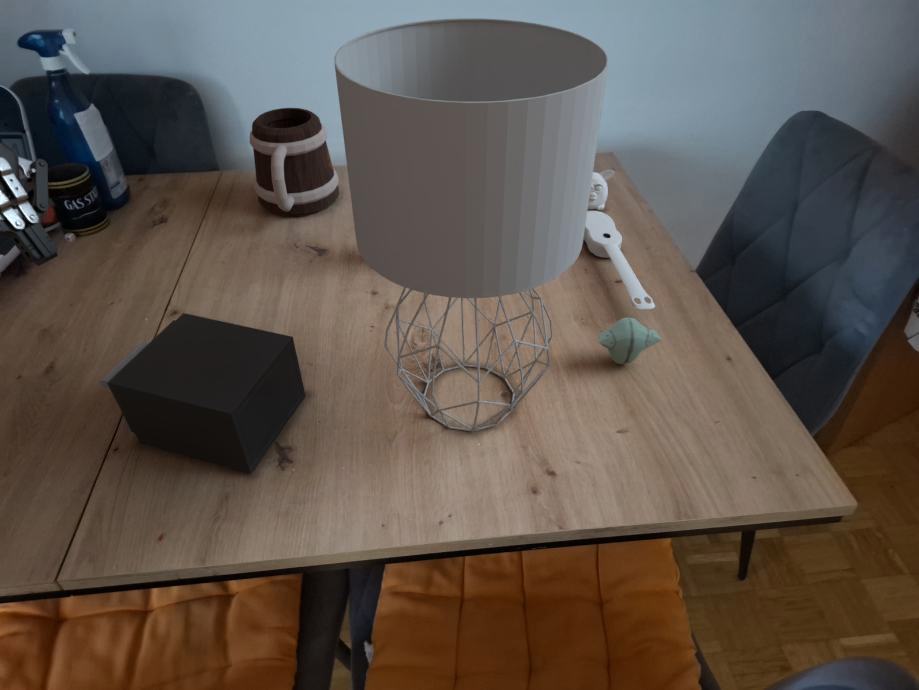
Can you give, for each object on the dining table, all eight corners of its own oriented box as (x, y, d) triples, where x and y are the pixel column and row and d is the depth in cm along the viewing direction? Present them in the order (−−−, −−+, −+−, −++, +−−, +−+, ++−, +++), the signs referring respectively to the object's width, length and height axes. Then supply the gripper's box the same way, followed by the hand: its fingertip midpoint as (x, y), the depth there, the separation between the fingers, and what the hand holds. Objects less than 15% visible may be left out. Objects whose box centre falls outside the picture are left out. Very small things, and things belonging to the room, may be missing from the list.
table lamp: (338, 404, 77) (276, 58, 51) (456, 317, 90) (455, 6, 64) (482, 503, 66) (496, 128, 40) (593, 388, 80) (658, 48, 53)
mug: (267, 180, 123) (250, 102, 113) (345, 179, 123) (335, 101, 113) (242, 234, 108) (220, 149, 98) (331, 233, 108) (318, 148, 98)
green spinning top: (594, 373, 82) (602, 332, 77) (588, 352, 85) (595, 312, 80) (656, 371, 82) (667, 330, 78) (647, 350, 85) (657, 310, 81)
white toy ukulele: (662, 322, 90) (666, 306, 88) (623, 325, 89) (626, 309, 87) (604, 222, 111) (607, 207, 109) (572, 224, 110) (574, 209, 108)
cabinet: (139, 443, 73) (109, 383, 66) (204, 371, 82) (183, 312, 76) (251, 474, 69) (230, 414, 63) (306, 396, 78) (293, 336, 72)
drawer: (100, 423, 74) (73, 374, 69) (162, 360, 82) (143, 313, 77) (233, 460, 70) (216, 410, 65) (285, 390, 78) (273, 341, 73)
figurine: (569, 213, 113) (573, 179, 109) (561, 196, 118) (565, 162, 114) (613, 211, 114) (619, 176, 110) (603, 194, 119) (608, 160, 114)
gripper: (-29, 102, 68) (77, 246, 74) (-164, 135, 57) (-27, 299, 64) (7, 73, 64) (115, 226, 71) (-130, 102, 54) (12, 279, 60)
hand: (47, 260), depth 67 cm, fingers closed
